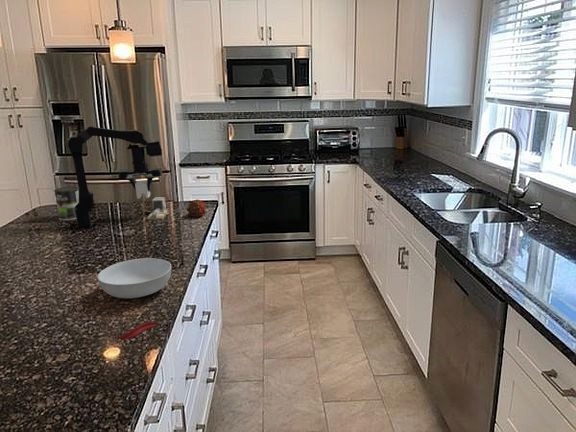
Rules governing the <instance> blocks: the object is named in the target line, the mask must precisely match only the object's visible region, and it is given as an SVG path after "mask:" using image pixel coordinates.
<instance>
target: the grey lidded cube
mask: <svg viewBox="0 0 576 432" xmlns="http://www.w3.org/2000/svg"><path fill="white" fill-rule="evenodd" d="M135 187H136V190H135V194H136V199H137V200H138V199H141V197H142V196H143V195H145V199H149V198H150V197H151V190H150V191H148V184H147V180H141V181H136V183H135Z"/></svg>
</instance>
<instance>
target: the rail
mask: <svg viewBox="0 0 576 432" xmlns="http://www.w3.org/2000/svg"><path fill="white" fill-rule="evenodd" d="M151 201H152V211H151V212H150V213H149V215H148V216H147V217H146V221H161V220H164V218H165V217H166V215H167V213H169V208H166V207H167V205H166V197H165V196H164V197H162V196H161V197H160V196H159V197H157V196H156V197H154V198H153V199H152V200H151Z"/></svg>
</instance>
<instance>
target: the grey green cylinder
mask: <svg viewBox="0 0 576 432" xmlns="http://www.w3.org/2000/svg"><path fill="white" fill-rule="evenodd" d="M53 192H54V197H55V202H56V209H57V214H58V220H59V221H72V220H73V221H74V220H76V213H75V206H76V205H77V204H78V203H79V187H78V186H66V187H65V186H63V187H58V188H56V189H54V190H53Z"/></svg>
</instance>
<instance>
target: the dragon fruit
mask: <svg viewBox="0 0 576 432" xmlns="http://www.w3.org/2000/svg"><path fill="white" fill-rule="evenodd" d="M206 210H207V205H206V203H205V202H204V201H202V200H201V199H195V200H193V201H190V203H189V204H188V207H187V208H186V211H187V212H188V214H190V216H192V217H197V218H199V217H201V216H204V215H205V214H206V212H207V211H206Z"/></svg>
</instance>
